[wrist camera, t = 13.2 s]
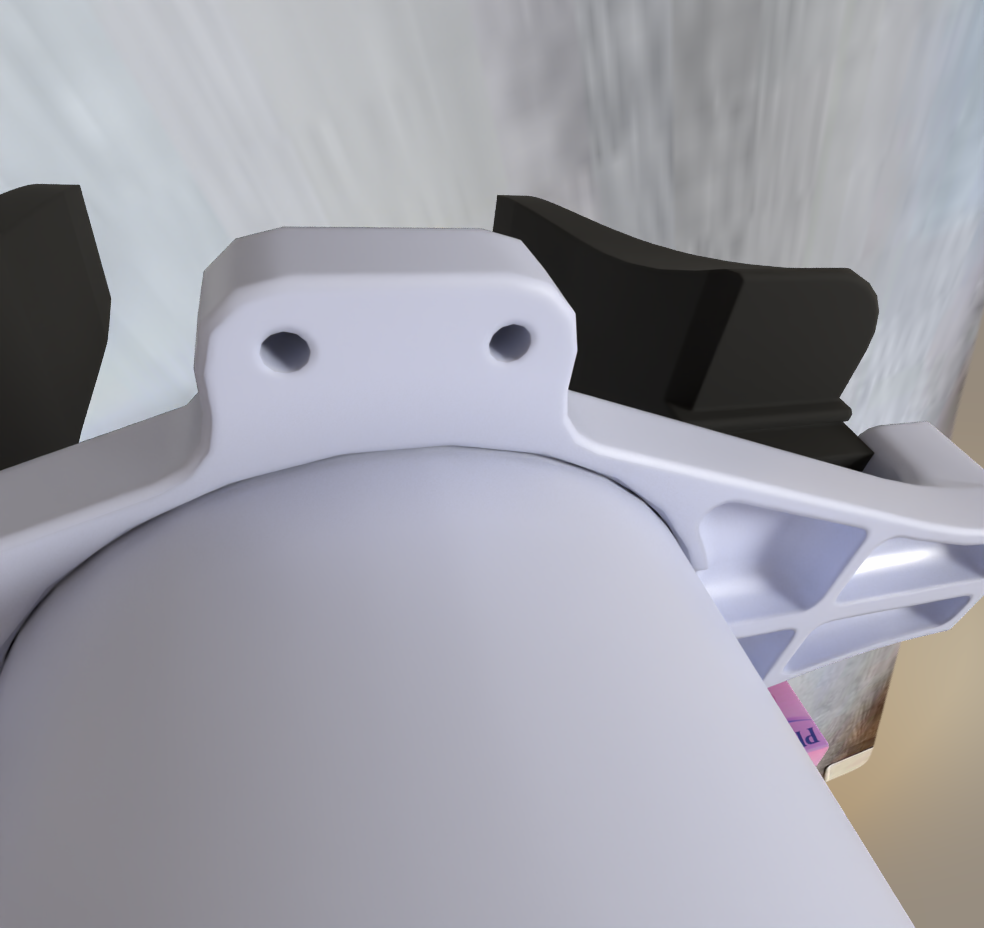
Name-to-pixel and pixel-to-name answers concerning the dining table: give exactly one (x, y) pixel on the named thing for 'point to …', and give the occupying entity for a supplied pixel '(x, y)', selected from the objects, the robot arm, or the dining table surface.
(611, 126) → the dining table surface
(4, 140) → the dining table surface
